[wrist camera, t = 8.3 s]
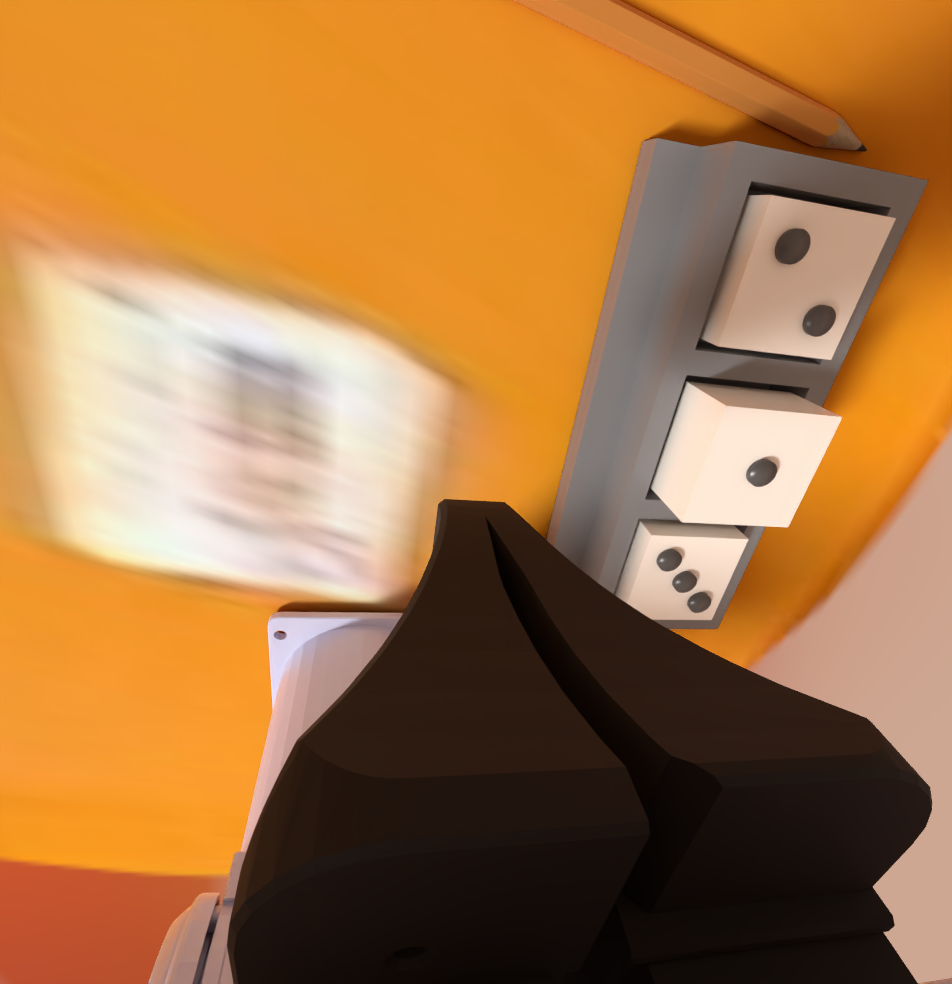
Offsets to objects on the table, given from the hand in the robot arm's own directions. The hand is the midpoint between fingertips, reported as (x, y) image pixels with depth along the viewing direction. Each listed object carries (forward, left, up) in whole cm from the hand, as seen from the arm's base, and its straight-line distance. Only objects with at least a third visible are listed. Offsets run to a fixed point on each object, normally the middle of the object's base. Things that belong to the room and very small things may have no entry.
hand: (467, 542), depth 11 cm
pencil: (+11, -4, -10) cm, 15 cm away
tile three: (-5, -10, -8) cm, 14 cm away
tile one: (0, -10, -7) cm, 12 cm away
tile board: (0, -10, -9) cm, 14 cm away
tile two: (+5, -10, -8) cm, 14 cm away
